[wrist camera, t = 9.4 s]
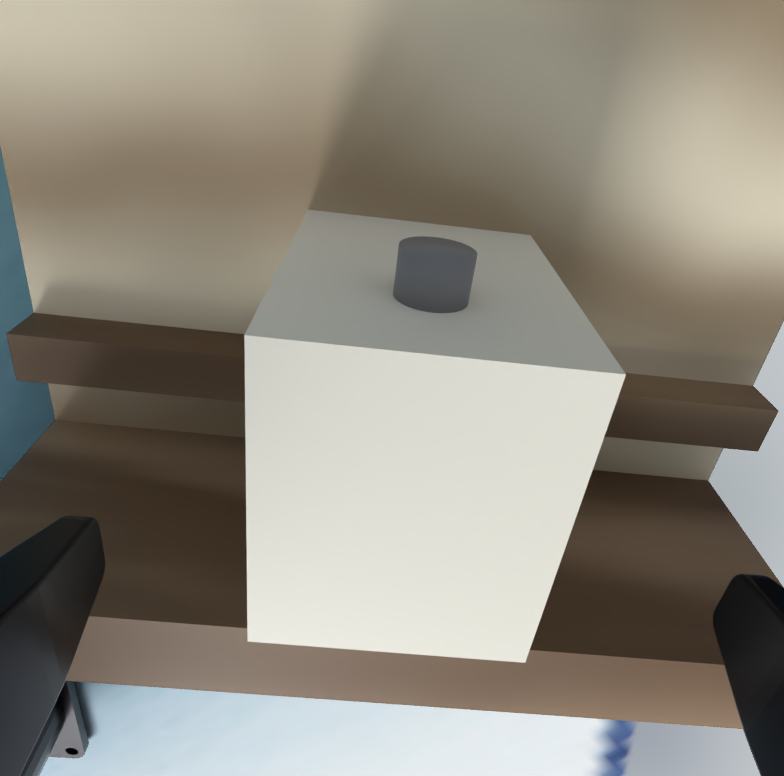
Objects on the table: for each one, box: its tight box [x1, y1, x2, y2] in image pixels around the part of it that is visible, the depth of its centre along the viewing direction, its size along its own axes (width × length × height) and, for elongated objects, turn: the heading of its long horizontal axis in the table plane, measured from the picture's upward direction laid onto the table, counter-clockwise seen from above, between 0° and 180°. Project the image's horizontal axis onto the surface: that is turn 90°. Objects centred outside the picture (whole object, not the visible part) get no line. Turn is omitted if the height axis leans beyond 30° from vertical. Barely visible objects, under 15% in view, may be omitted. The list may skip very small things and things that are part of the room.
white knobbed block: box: [244, 210, 626, 663], centre depth 12 cm, size 7×5×6 cm
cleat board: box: [0, 0, 784, 729], centre depth 11 cm, size 16×18×7 cm
